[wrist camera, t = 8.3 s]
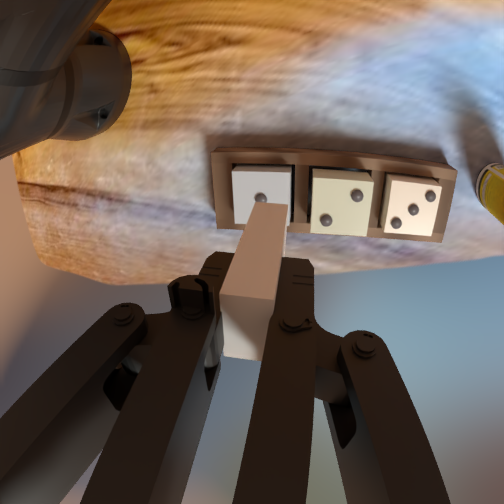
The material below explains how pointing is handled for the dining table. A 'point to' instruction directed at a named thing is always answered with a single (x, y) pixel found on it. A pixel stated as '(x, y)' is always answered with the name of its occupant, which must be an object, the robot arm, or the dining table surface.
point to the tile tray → (302, 158)
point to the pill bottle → (492, 189)
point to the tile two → (340, 202)
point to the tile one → (260, 187)
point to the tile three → (409, 204)
